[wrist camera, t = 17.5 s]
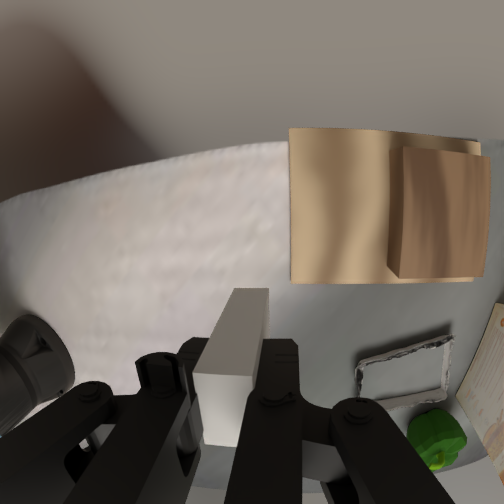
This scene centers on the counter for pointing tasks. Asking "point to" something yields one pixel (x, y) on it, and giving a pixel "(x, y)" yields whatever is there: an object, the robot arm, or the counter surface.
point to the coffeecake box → (487, 390)
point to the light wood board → (348, 202)
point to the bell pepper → (436, 438)
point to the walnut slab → (438, 213)
